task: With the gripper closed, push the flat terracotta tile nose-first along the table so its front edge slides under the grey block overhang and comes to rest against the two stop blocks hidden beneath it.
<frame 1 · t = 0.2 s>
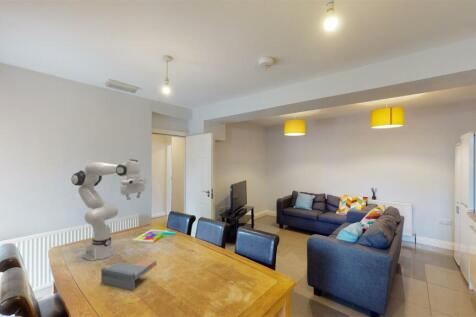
hand: (133, 198, 161), 47 cm above the table, fingers open, 8 cm apart
tile: (143, 268, 151), on the table
grey block: (125, 280, 136), on the table
puzzle game: (155, 238, 209), on the table
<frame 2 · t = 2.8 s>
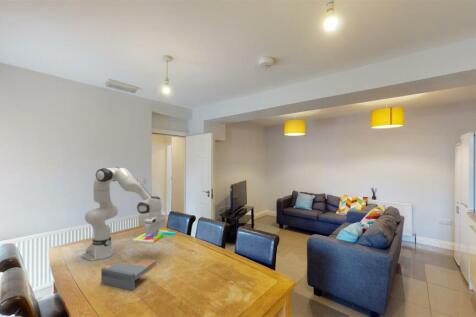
hand: (155, 235, 163), 19 cm above the table, fingers closed
nothing on the table moved.
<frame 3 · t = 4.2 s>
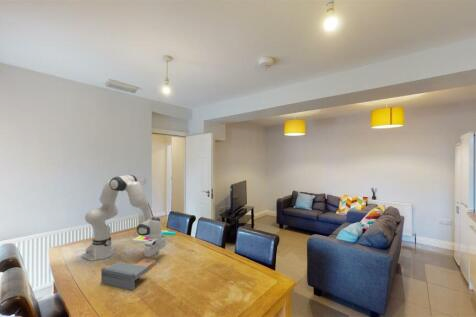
hand: (155, 257, 163), 2 cm above the table, fingers closed
nothing on the table moved.
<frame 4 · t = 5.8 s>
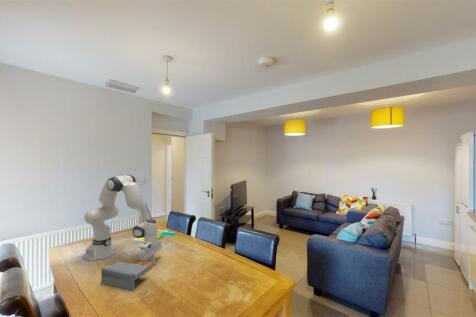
hand: (151, 260, 158), 2 cm above the table, fingers closed
tile: (142, 269, 150), on the table, touching gripper
everything else where it was.
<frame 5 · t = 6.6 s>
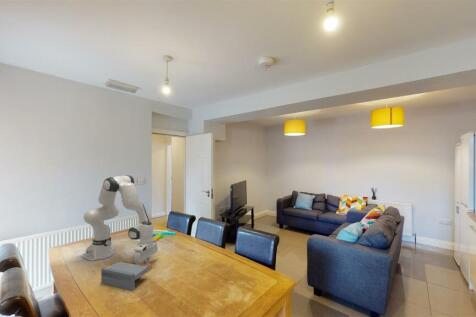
hand: (146, 263, 154), 2 cm above the table, fingers closed
tile: (138, 272, 145), on the table, touching gripper
everything else where it was.
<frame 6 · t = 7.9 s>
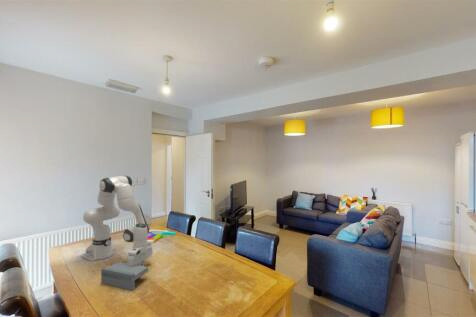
hand: (140, 267, 148), 2 cm above the table, fingers closed
tile: (131, 277, 140), on the table, touching gripper
everything else where it was.
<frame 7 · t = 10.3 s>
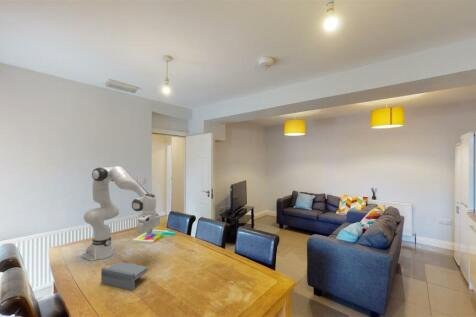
hand: (149, 234, 156), 22 cm above the table, fingers closed
tile: (131, 277, 140), on the table
everything else where it was.
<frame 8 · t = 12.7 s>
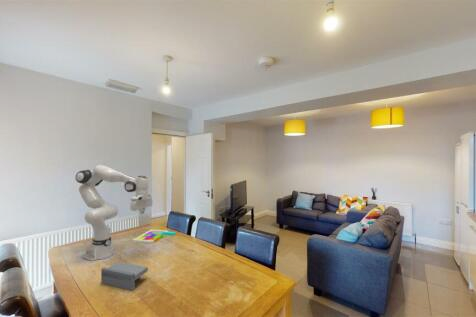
hand: (142, 213, 168), 34 cm above the table, fingers closed
nothing on the table moved.
at the end: tile inside the target area (0.2 cm from its centre), on the table; tile tilted 0° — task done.
